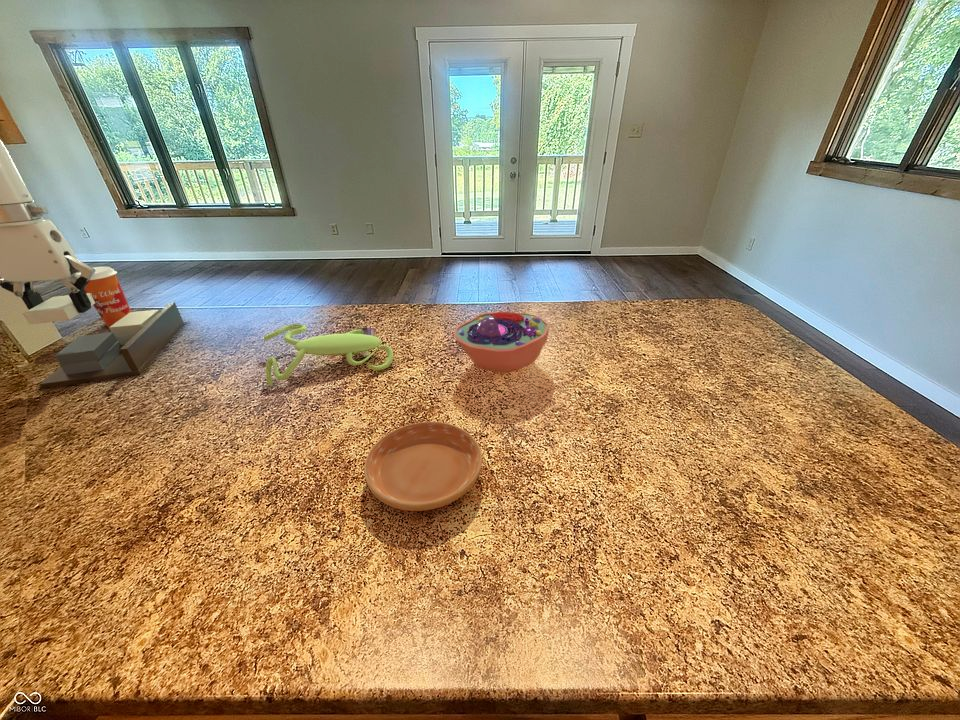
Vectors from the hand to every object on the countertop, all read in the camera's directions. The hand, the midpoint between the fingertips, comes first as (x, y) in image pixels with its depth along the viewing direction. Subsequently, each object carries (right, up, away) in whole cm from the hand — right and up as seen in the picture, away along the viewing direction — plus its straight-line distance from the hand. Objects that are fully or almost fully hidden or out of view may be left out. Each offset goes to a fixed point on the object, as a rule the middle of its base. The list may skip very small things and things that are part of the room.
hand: (63, 311), depth 74 cm
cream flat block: (0, 0, 0) cm, 0 cm away
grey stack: (+1, -11, +6) cm, 12 cm away
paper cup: (-13, 0, +26) cm, 29 cm away
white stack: (+1, -4, +17) cm, 18 cm away
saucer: (+73, -25, -20) cm, 80 cm away
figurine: (+48, -9, +8) cm, 50 cm away
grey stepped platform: (+1, -7, +12) cm, 14 cm away
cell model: (+86, -10, +6) cm, 86 cm away
